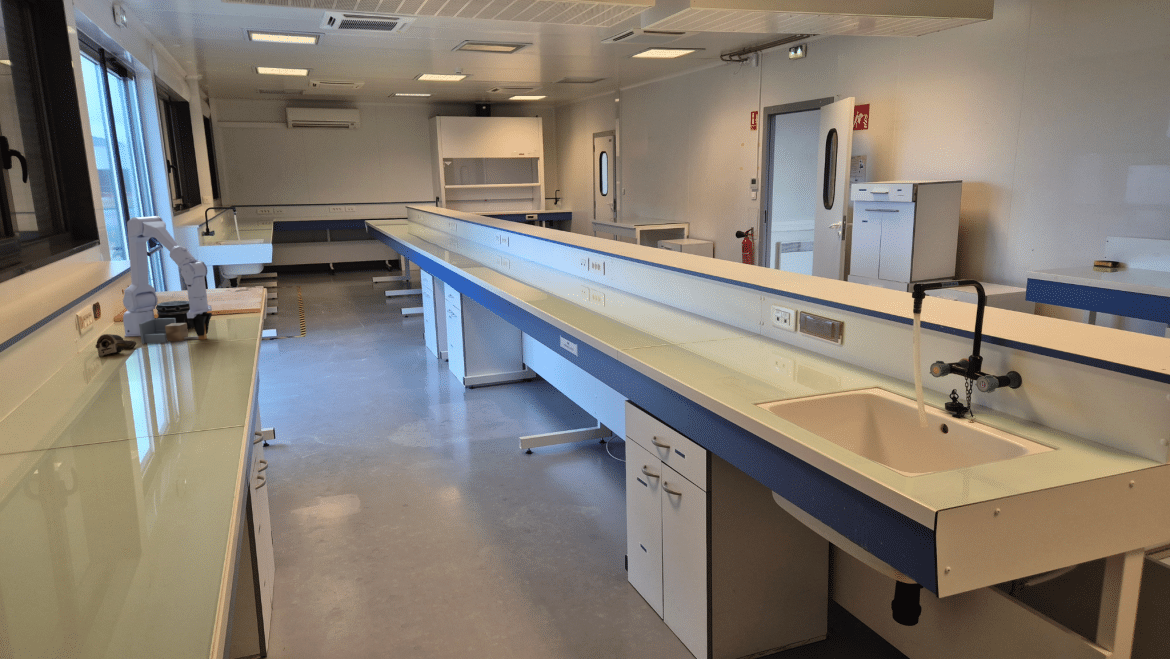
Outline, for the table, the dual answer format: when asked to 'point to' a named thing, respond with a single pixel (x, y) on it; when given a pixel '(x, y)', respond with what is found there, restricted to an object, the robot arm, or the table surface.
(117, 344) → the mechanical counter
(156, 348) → the table surface
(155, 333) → the grey u-shaped cradle
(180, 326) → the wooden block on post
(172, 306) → the container
